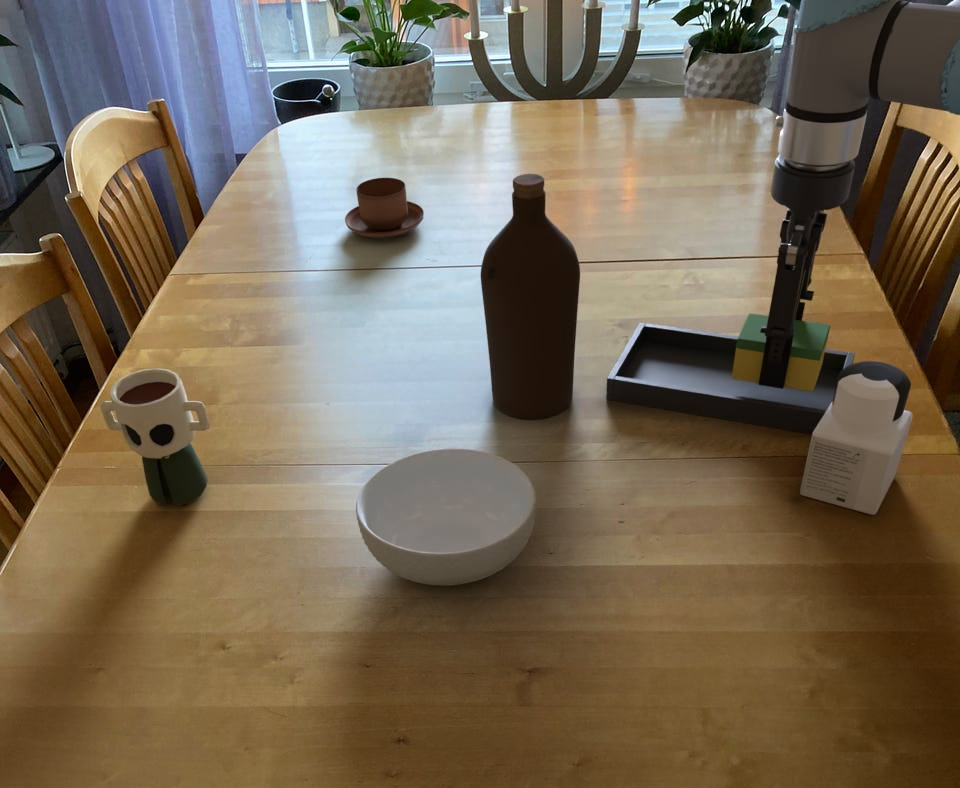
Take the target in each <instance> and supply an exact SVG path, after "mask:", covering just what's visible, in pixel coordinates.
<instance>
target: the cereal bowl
mask: <svg viewBox="0 0 960 788" xmlns="http://www.w3.org/2000/svg"><path fill="white" fill-rule="evenodd" d="M536 501H537V496H536V491H535V488H534V485H533V484H532V481H531V479H530V478H529V476H528V475H527V474H526V473H525V472H524V471H523V469H522V468H520V467H519V466H518V465H516V464H515V463H513V462H512V461H510V460H508V459H506V458H504V457H501V456H499V455H497V454H493V453H490V452H486V451H483V450H476V449H471V448H470V449H469V448H438V449H431V450H425V451H424V450H423V451H420V452H415V453H413V454H409V455H407V456H403V457H401V458H399V459H397V460H394V461H391V462H390V463H389V464H387V465H385V466H383V467H382V468H380V469H379V470H378V471H376V472H375V473H374V474H373V475H372V476H371V477H369V478H368V479H367V480H366V481H365V483H364V484H363V486H362V487H361V489H360V491H359V492H358V495H357V498H356V501H355V514H356V520H357V525H358V528H359V532H360V534H361V538H362V540H363V542H364V545H365V546H366V547H367V550H368V551H369V552H370V553H371V555H372V557H374V558H375V560H376V561H377V562H378V563H379V564H381V565H382V566H383V567H384V568H386V569H387V570H388V571H390V572H392V573H393V574H394V575H397V576H398V577H400V578H404V579H406V580H407V581H412V582H414V583H419V584H422V585H424V584H425V585H429V586H446V587H447V586H457V585H464V584H469V583H473V582H476V581H480V580H482V579H485V578H487V577H490V576H492V575H494V574H496V573H498V572H500V571H501V570H503V569H504V568H505V567H508V565H509V564H511V563H512V562H514V561H515V559H516V558H517V557H518V556H519V554H520V553H522V551H523V550H524V548H525V546H527V545H528V541H529V540H530V539H531V535H532V533H533V528H534V526H535V520H536V507H537V503H536Z"/></svg>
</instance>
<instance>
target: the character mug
mask: <svg viewBox="0 0 960 788" xmlns="http://www.w3.org/2000/svg"><path fill="white" fill-rule="evenodd" d="M109 397H110V400H106V401H102V402H99V403H100V411H101V413H102V416H103V417H102V418H103V419H104V422H105V425H106V427H107V428H108V429H109V430H110V431H119V432H120V431H121V434H122V436H123V439H124V442H125V443H126V444H127V446H128V447H129V449H130V450H131V451H133V452H135V453H136V454H137V455H139V456H141V461H142V468H143V472H144V479H145V483H146V487H147V490H148V495H149V497H150V498H151V499H152V501H153V502H154V503H157V504H159V505H161V506H167V503H166V497H167V498H171V499H172V502H173V505H174V506H180V505H181V506H182V505H184V504H188V503H192V502H193V501H194V500H196V499H198V498H199V497H201V496H202V494H203V493H204V491H205V490H206V488H207V485H208V476H207V473H206V472H205V470H204V466H203V465H202V463H201V461H200V459H199V456H198V455H197V453H196V451H195V449H194V446H193V445H192V441H193V440H194V437H195V434H196V432H205V431H207V430H210V427H211V426H210V425H211V424H210V421H209V417H208V414H207V411H206V407H205V404H204V403H203V402H202V401H199V400H188V395H187V393H186V389H185V387H184V384H183V381H182V379H181V377H180V376H179V374H178V373H177V372H174V371H172V370H170V369H168V368H167V369H166V368H159V367H157V368H146V369H145V368H144V369H141V370H137V371H134V372H131V373H128V374H127V375H125V376H123V377H121V378H120V379H118V380H117V381H116V382H115V383H114V384H113V385H112V386H111V388H110V392H109ZM113 412H114V413H115V417H116V419H115V417H114V413H113ZM192 412H195V413H196V415H197V419H198V420H194V416H193V413H192Z"/></svg>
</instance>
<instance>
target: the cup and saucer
mask: <svg viewBox="0 0 960 788" xmlns="http://www.w3.org/2000/svg"><path fill="white" fill-rule="evenodd" d="M355 191H356V198H357V203H358V204H357V206H355V207H353V208H352V209H351V210H350V211H348V212H347V214H346V215H345V216H344V223H345V225H346V227H347V229H349V230H350V231H351V232H353V233H354V234H356V235H359V236H362V237H366V238H372V239H387V238H394V237H398V236H401V235H404V234H407V233H409V232H411V231H413V230H415V229H416V228H417V227H419V225H420V224H421V223H422V221H423V219H424V213H425V212H424V209H423V208H422V206H420V204H417V203H415V202H412V201H408V199H407V189H406V183H405V182H404V181H403V180H401V179H399V178H394V177H375V178H371V179H367V180H365V181H362V182H361V183H359V184H358V185H357V186H356V190H355Z"/></svg>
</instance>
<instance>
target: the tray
mask: <svg viewBox="0 0 960 788" xmlns="http://www.w3.org/2000/svg"><path fill="white" fill-rule="evenodd" d="M738 337H739V335H738V336H737V335H731V334H723V333H717V332H710V331H704V330H703V331H702V330H696V329H688V328H682V327H677V326H676V327H675V326H669V325H661V324H655V323H648V322H647V323H646V322H642V321H641V322H639V324H638V325H637V327H636V328H635V330H634V331H633V333H632V335H631V337H630V339H629V340H628V342H627V344H626V345H625V347H624V349H623V350H622V352H621V354H620V355H619V357H618V359H617V360H616V362H615V364H614V366H613V368H612V369H611V371H610V373H608V376H607V377H606V395H605V400H607V401H614V402H620V403H626V404H631V405H637V406H644V407H648V408H655V409H661V410H666V411H667V410H668V411H673V412H679V413H685V414H690V415H695V416H696V415H697V416H701V417H708V418H714V419H720V420H726V421H731V422H737V423H744V424H749V425H755V426H761V427H765V428H766V427H767V428H773V429H779V430H785V431H789V432H795V433H803V434H807V435H812V433H813V431H814V430H815V428H816V427H817V425H818V423H819V422H820V420H821V419H822V417H823V415H824V414H825V412H826V411H827V409H828V407H829V406H830V404H831V403H832V401H833V397H834V393H835V388H836V384H837V379H838V375H839V373H840V372H841V371H842V370H843V369H844V368H846V367H847V366H849V365H851V364H853V363H854V361H855V356H856V353H855V352H849V351H843V350H842V351H841V350H834V349H829V348H828V349H827V348H826V349H825V353H824V358H823V363H822V366H821V369H820V373H819V376H818V379H817V382H816V385H815V388H814V391H813V392H810V391H804V390H798V389H791V388H785V387H783V389H781V388H775V387H769V386H763V385H758V384H759V383H754V382H748V381H742V380H736V379H732V373H733V366H734V359H735V352H736V346H737V339H738Z"/></svg>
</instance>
